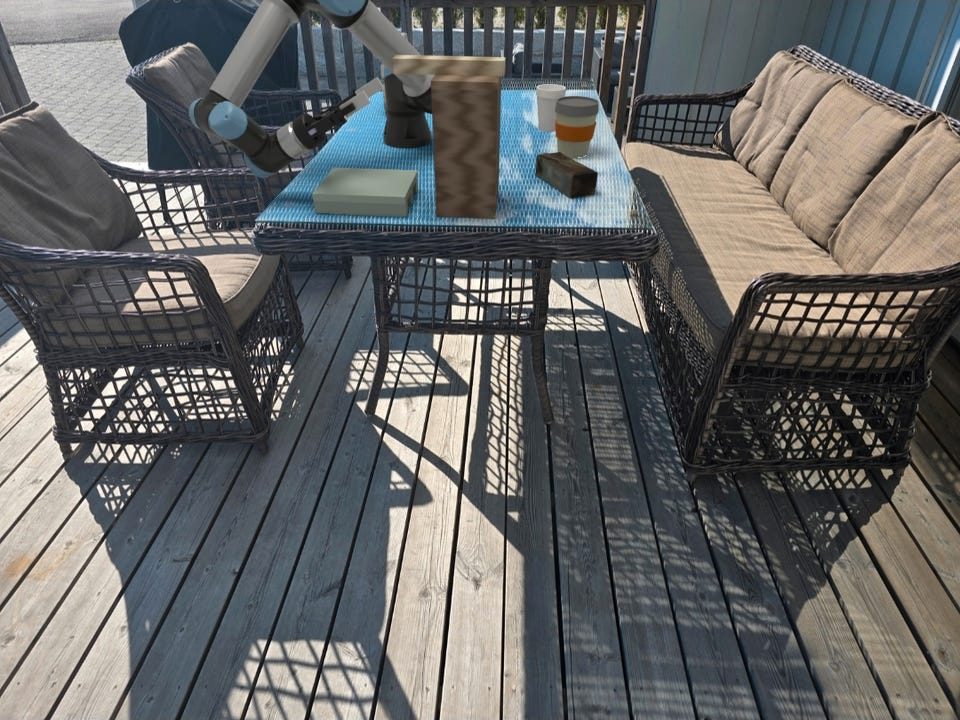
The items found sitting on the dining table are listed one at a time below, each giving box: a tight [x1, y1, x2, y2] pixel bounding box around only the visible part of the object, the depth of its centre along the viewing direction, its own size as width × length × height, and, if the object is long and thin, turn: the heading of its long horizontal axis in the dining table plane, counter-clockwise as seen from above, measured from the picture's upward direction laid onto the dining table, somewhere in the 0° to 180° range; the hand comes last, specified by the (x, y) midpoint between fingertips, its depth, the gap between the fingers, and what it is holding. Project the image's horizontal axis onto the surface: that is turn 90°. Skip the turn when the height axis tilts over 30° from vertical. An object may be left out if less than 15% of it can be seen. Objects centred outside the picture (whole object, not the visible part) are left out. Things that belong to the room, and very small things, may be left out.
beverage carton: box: [534, 151, 599, 199], centre depth 158 cm, size 8×19×7 cm, turn 25°
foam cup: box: [535, 83, 567, 133], centre depth 197 cm, size 10×9×13 cm
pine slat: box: [393, 54, 506, 77], centre depth 130 cm, size 24×4×3 cm, turn 85°
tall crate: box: [431, 75, 503, 220], centre depth 139 cm, size 14×16×30 cm
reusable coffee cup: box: [554, 95, 600, 159], centre depth 176 cm, size 13×13×15 cm
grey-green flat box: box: [311, 167, 419, 218], centre depth 148 cm, size 22×18×5 cm
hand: (374, 89), depth 134 cm, fingers open, 13 cm apart
